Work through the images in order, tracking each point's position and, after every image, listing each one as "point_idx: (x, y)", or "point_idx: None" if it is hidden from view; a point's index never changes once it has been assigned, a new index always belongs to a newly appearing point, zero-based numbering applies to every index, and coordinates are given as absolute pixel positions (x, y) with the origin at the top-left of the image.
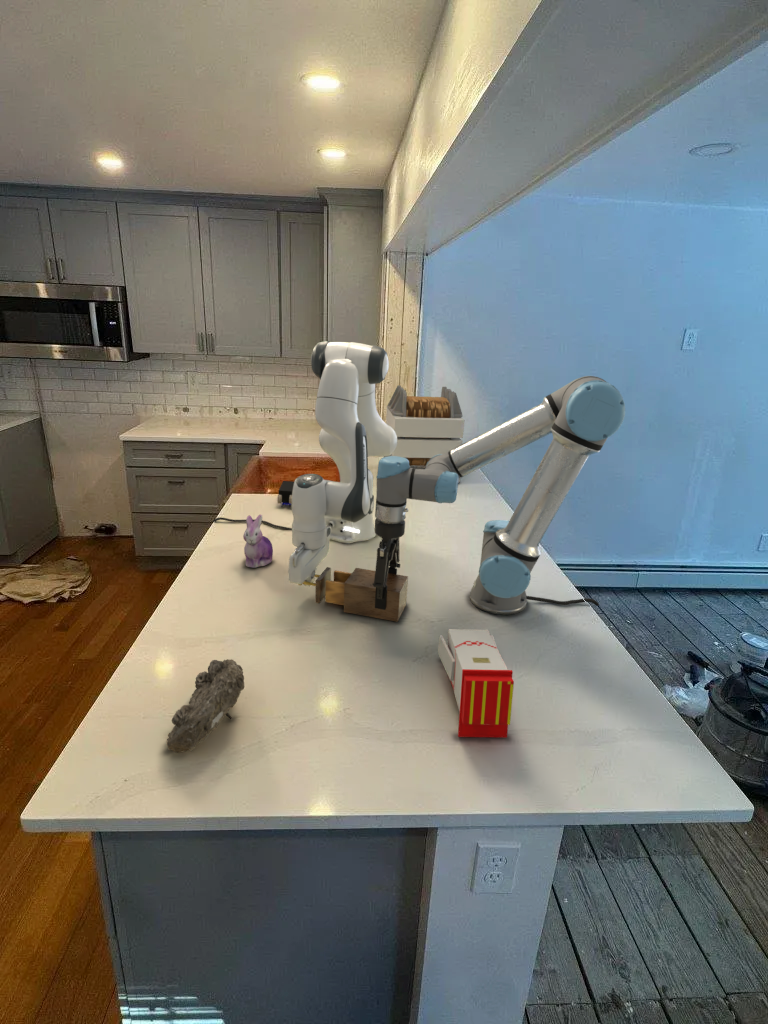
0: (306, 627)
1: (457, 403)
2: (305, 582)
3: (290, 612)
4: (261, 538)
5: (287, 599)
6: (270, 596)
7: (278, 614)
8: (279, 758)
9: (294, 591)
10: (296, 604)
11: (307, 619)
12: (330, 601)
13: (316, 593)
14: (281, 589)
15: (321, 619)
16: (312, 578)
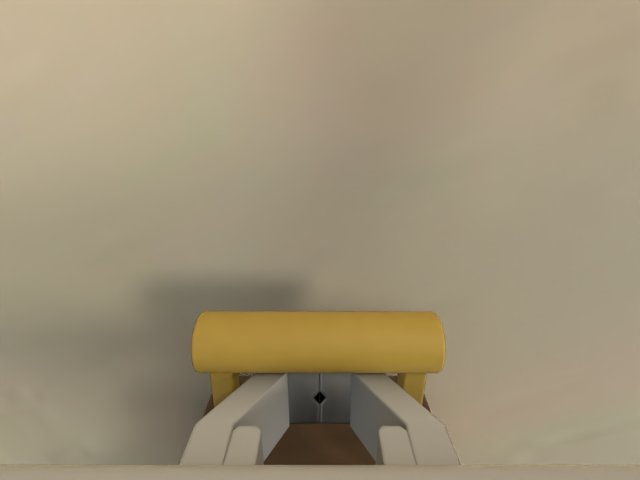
0: (8, 385)
1: None
2: (213, 398)
3: (92, 255)
4: None
5: (236, 166)
6: (223, 7)
7: (25, 195)
8: None
9: (367, 165)
10: (200, 250)
11: (79, 364)
12: None
13: None
14: (369, 47)
15: (119, 419)
16: (322, 422)
